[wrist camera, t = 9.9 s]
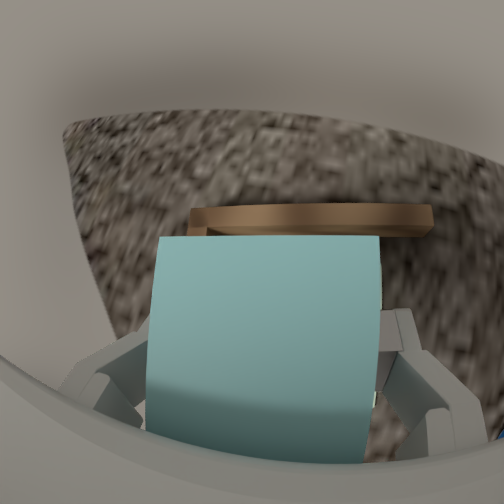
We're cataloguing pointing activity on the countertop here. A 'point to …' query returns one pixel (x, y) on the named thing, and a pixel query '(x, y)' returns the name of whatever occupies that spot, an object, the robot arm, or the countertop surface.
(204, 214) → the corner walls
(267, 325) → the teal block
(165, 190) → the countertop surface
